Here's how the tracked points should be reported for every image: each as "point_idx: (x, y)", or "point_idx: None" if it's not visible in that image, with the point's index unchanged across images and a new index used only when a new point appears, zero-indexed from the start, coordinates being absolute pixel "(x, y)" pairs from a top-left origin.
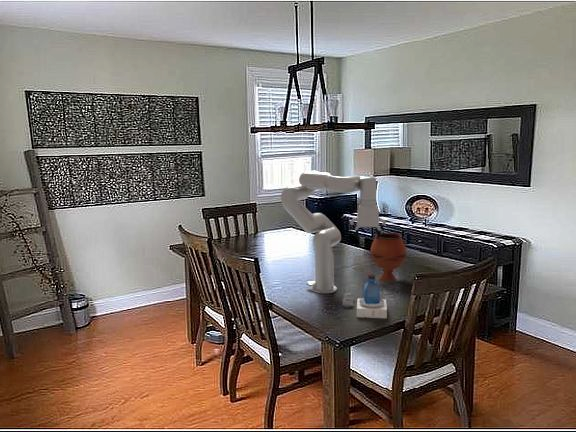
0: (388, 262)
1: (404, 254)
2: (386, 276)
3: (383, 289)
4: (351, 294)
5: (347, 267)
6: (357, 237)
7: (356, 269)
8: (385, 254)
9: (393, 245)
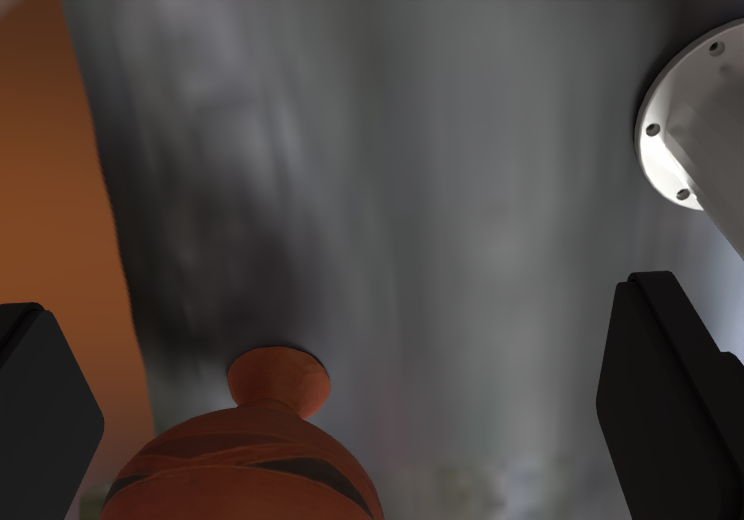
0: (228, 424)
1: (99, 516)
2: (276, 376)
3: (274, 201)
4: None
5: (532, 512)
6: (660, 284)
7: (478, 492)
8: (238, 481)
9: None
